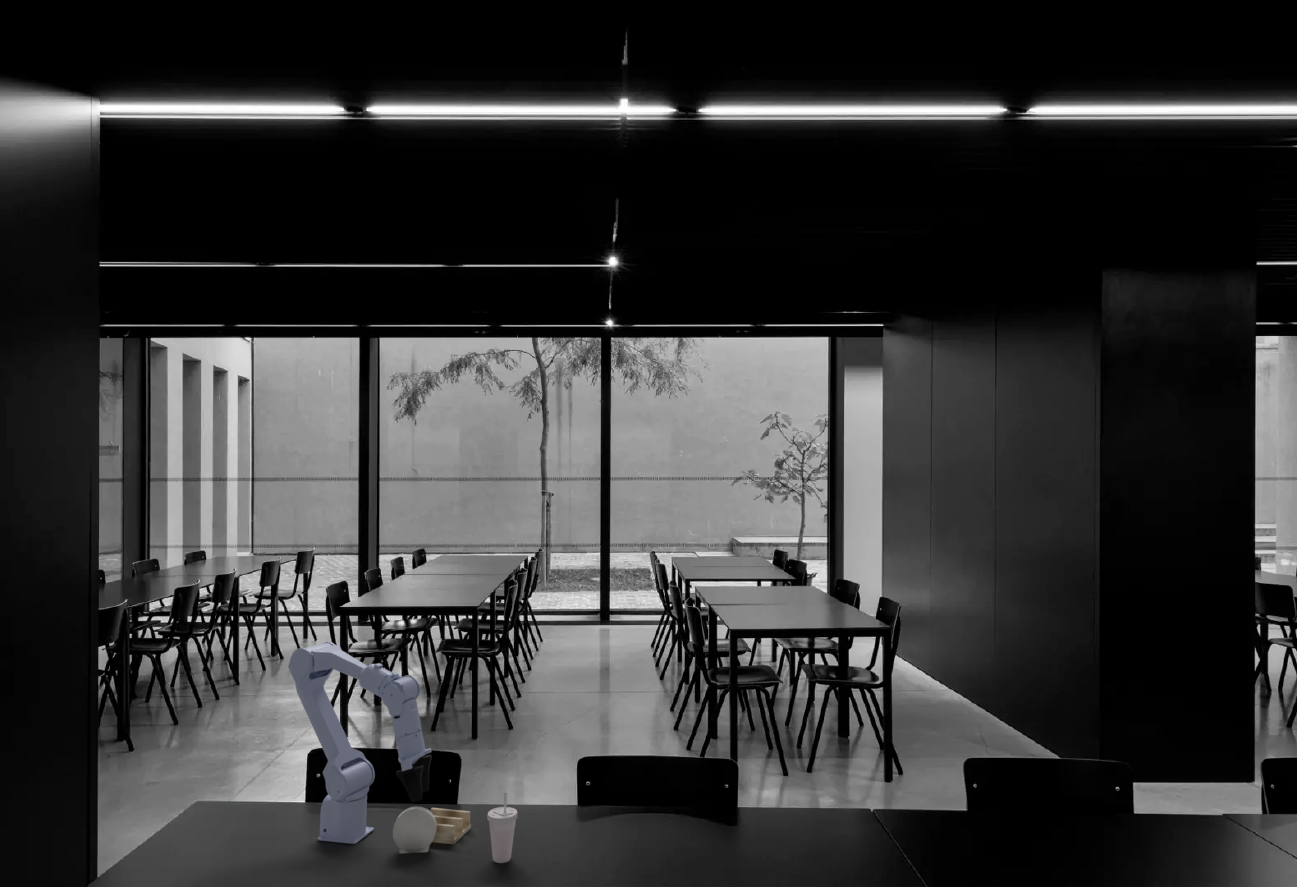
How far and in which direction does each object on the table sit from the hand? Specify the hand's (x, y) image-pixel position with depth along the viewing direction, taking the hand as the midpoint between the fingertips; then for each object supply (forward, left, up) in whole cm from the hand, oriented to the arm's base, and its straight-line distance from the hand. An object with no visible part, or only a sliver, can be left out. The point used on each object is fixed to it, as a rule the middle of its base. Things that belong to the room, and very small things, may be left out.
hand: (420, 796), depth 177 cm
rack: (+1, +9, -11) cm, 14 cm away
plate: (-1, 0, -11) cm, 11 cm away
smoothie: (+19, 0, -12) cm, 22 cm away
